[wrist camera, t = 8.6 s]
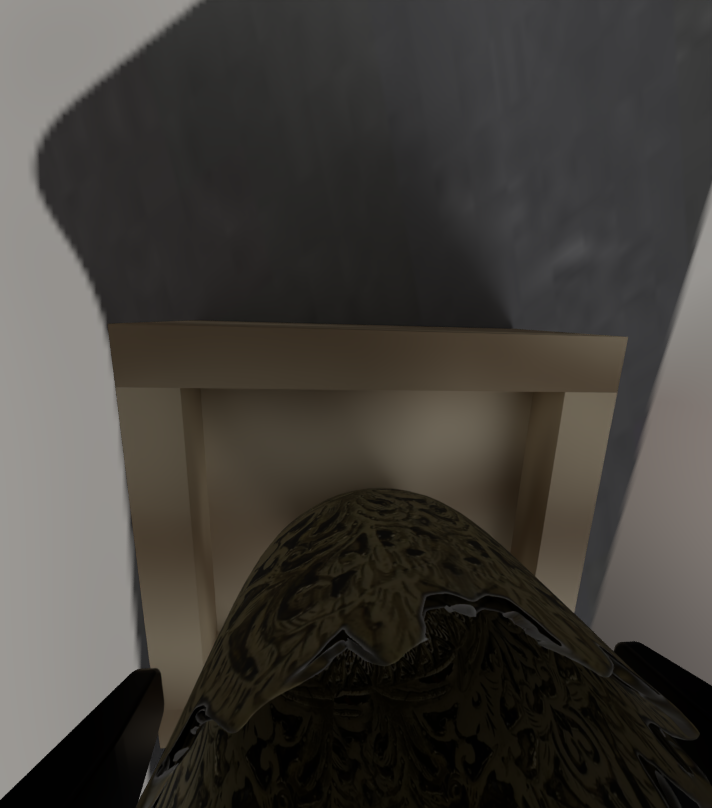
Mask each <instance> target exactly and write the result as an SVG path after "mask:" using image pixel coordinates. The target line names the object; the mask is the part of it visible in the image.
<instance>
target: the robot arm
mask: <svg viewBox="0 0 712 808" xmlns="http://www.w3.org/2000/svg"><path fill="white" fill-rule="evenodd" d="M614 652H615V653H616V654H617V655H618V656H619V657H620V658H621V659H622V660H623V661H624V662H625V663H626V664H627V665H628V666H629V667H630V668H631V669H632V670H633V671H634V672H635V673H637V674H638V675H639V676H640V677H641V678H643V679H644V680H645V681H646V682H647V683H649V684H650V685H651V686H652V687H653V688H654V689H656V690H657V691H658V692H659V693H660V694H662V695H663V696H664V697H665V698H666V699H668V700H669V701H670V702H671V703H672V704H673V705H675V706H676V707H677V708H678V709H679V710H680V711H681V712H682V713H683V714H684V715H685V716H686V717H687V718H688V719H689V720H690V722H691V723H692V724H693V725H694V726H695V727H696V728H697V730H698V731H699V733H700V735H699V737H698V738H697V739H695V740H683V739H679V738H675V737H673V738H674V739H675V740H676V741H677V743H678V744H679V745H680V746H681V747H682V749H683V750H684V751H685V752H686V753H687V754H688V755H689V756H690V758H691V759H692V760H693V761H694V762H695V763H696V765H697V766H698V767H699V768H700V769H701V770H702V772H703V773H704V774H705V775H706V776H707V778H708V780H709V782H710V784H711V786H712V686H711V685H709V684H708V683H706V682H705V681H703V680H701V679H700V678H698V677H696V676H695V675H693V674H691V673H690V672H688V671H686V670H685V669H683V668H681V667H680V666H678V665H677V664H675V663H673V662H671V661H670V660H668V659H667V658H665V657H663V656H662V655H660V654H658V653H657V652H655V651H653V650H652V649H650V648H648V647H647V646H645V645H643V644H642V643H639V642H635V641H634V642H620V643H618V644H617V645H616V646H615V649H614ZM163 713H164V694H163V685H162V677H161V672H160V670H159V669H158V668H146V669H137V670H135V671H134V672H132V673H131V674H130V675H129V676H128V677H127V678H126V679H125V680H124V681H123V682H122V683H121V684H120V685H119V686H117V687H116V688H115V689H114V690H113V691H112V692H111V693H110V694H109V695H108V696H107V697H106V698H105V699H104V700H103V701H102V702H101V703H100V704H99V705H98V706H97V707H96V708H95V709H94V710H93V711H92V712H91V713H90V714H89V715H88V716H86V718H84V719H83V720H82V721H81V722H80V723H79V724H78V725H77V726H76V727H75V728H74V729H73V730H72V731H71V732H70V733H69V734H68V735H67V736H66V737H65V738H64V739H63V740H62V741H61V742H60V743H59V744H58V745H57V746H56V747H55V748H54V749H53V750H51V751H50V752H49V753H48V754H47V755H46V756H45V757H44V758H43V759H42V760H41V761H40V762H39V763H38V764H37V765H36V766H35V767H34V768H33V769H32V770H31V771H30V772H29V773H28V774H27V775H26V776H25V777H24V778H23V779H21V780H20V781H19V783H17V784H16V785H15V786H14V787H13V788H12V789H11V790H10V791H9V792H8V793H7V794H6V795H5V796H4V797H3V798H2V799H1V800H0V808H136V806H137V803H138V800H139V797H140V793H141V790H142V787H143V783H144V779H145V776H146V773H147V769H148V766H149V762H150V759H151V756H152V752H153V749H154V745H155V742H156V738H157V735H158V731H159V728H160V724H161V721H162V717H163ZM664 778H665V779H666V781H667V782H668V784H669V785H670V787H671V788H672V790H673V792H674V793H675V795H676V796H677V798H678V800H679V802H680V804H681V806H682V808H700V807H699V806H698V804H697V803H696V802H694V801H693V800H692V799H691V798H690V797H689V796H687V795H686V794H685V793H684V792H683V791H681V790H680V789H679V788H678V787H676V786H675V785H674V784H673V783H672V782H671V781H670V780H669V779H668V778H667V777H665V776H664Z"/></svg>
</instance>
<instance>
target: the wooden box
mask: <svg viewBox="0 0 712 808" xmlns="http://www.w3.org/2000/svg"><path fill="white" fill-rule="evenodd" d="M108 332H109V340H110V348H111V356H112V364H113V372H114V380H115V388H116V396H117V404H118V412H119V420H120V428H121V436H122V444H123V452H124V461H125V469H126V477H127V485H128V493H129V501H130V509H131V517H132V525H133V533H134V541H135V549H136V557H137V565H138V573H139V581H140V589H141V597H142V605H143V613H144V622H145V630H146V638H147V646H148V654H149V662H150V668H158V669H159V670H160V672H161V677H162V685H163V694H164V713H163V717H162V721H161V724H160V728H159V731H158V734H159V742H160V748H166V746H167V744H168V742H169V740H170V738H171V735H172V733H173V731H174V729H175V727H176V725H177V723H178V720H179V718H180V716H181V714H182V712H183V710H184V707H185V705H186V703H187V701H188V699H189V697H190V695H191V692H192V690H193V688H194V686H195V684H196V682H197V680H198V677H199V675H200V673H201V671H202V669H203V667H204V665H205V662H206V660H207V658H208V656H209V654H210V652H211V650H212V648H213V646H214V643H215V641H216V639H217V637H218V635H219V633H220V631H221V629H222V627H223V625H224V623H225V620H226V618H227V616H228V614H229V612H230V610H231V608H232V606H233V604H234V602H235V600H236V598H237V596H238V594H239V592H240V591H241V589H242V587H243V585H244V583H245V582H246V580H247V578H248V577H249V575H250V573H251V572H252V570H253V568H254V567H255V565H256V563H257V562H258V560H259V559H260V557H261V556H262V554H263V553H264V552H265V550H266V549H267V548H268V547H269V545H270V544H271V543H272V542H273V540H274V539H275V538H276V537H277V535H278V534H279V533H280V532H281V531H282V530H283V529H284V528H285V527H286V526H287V525H288V524H290V523H291V522H292V521H293V520H295V519H296V518H297V517H298V516H300V515H301V514H303V513H304V512H306V511H307V510H309V509H310V508H312V507H313V506H315V505H317V504H319V503H321V502H323V501H325V500H327V499H329V498H332V497H334V496H337V495H340V494H343V493H347V492H351V491H355V490H361V489H368V488H393V489H400V490H406V491H411V492H415V493H418V494H422V495H426V496H428V497H431V498H433V499H436V500H438V501H440V502H442V503H444V504H446V505H448V506H450V507H451V508H453V509H455V510H457V511H458V512H460V513H462V514H463V515H464V516H466V517H467V518H469V519H470V520H471V521H473V522H474V523H476V524H477V525H478V526H479V527H481V528H482V529H483V530H485V531H486V532H487V533H488V534H490V535H491V536H492V537H493V538H494V539H495V540H496V541H498V542H499V543H500V544H501V545H502V546H503V547H504V548H505V549H506V550H507V551H509V552H510V553H511V554H512V555H513V556H514V557H515V558H516V559H517V560H518V561H519V562H520V563H521V564H523V565H524V566H525V567H526V568H527V569H528V570H529V571H530V572H531V573H532V574H533V575H534V576H535V577H536V578H538V579H539V580H540V581H541V582H542V583H543V584H544V585H545V586H546V587H547V588H548V589H549V590H550V591H551V592H552V593H553V594H554V595H556V596H557V597H558V598H559V599H560V600H561V601H562V602H563V603H564V604H565V605H566V606H567V607H568V608H569V609H570V610H571V611H572V612H573V613H574V611H575V606H576V601H577V596H578V591H579V585H580V580H581V575H582V570H583V565H584V560H585V555H586V550H587V545H588V539H589V534H590V529H591V524H592V519H593V514H594V509H595V504H596V498H597V493H598V488H599V483H600V478H601V473H602V468H603V463H604V458H605V452H606V447H607V442H608V437H609V432H610V427H611V422H612V417H613V411H614V406H615V401H616V396H617V391H618V386H619V381H620V376H621V371H622V365H623V360H624V355H625V350H626V345H627V340H628V337H620V336H606V335H592V334H578V333H565V332H551V331H537V330H523V329H500V328H463V327H426V326H388V325H351V324H314V323H277V322H240V321H203V320H189V321H164V322H139V323H114V324H108Z"/></svg>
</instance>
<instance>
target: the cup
mask: <svg viewBox="0 0 712 808" xmlns="http://www.w3.org/2000/svg"><path fill="white" fill-rule="evenodd" d="M699 735H700V733H699V731H698V730H697V728H696V727H695V726H694V725H693V724H692V723H691V722H690V720H689V719H688V718H687V717H686V716H685V715H684V714H683V713H682V712H681V711H680V710H679V709H678V708H677V707H676V706H675V705H673V704H672V703H671V702H670V701H669V700H668V699H666V698H665V697H664V696H663V695H662V694H660V693H659V692H658V691H657V690H656V689H654V688H653V687H652V686H651V685H650V684H649V683H647V682H646V681H645V680H644V679H643V678H641V677H640V676H639V675H638V674H637V673H635V672H634V671H633V670H632V669H631V668H630V667H629V666H628V665H627V664H626V663H625V662H624V661H623V660H622V659H621V658H620V657H619V656H618V655H617V654H616V653H615V652H614V651H613V650H611V649H610V648H609V647H608V646H607V645H606V644H605V643H604V642H603V641H602V640H601V639H600V638H599V637H598V636H597V635H596V634H595V633H594V632H593V631H592V630H591V629H590V628H589V627H588V626H587V625H586V624H585V623H584V622H583V621H582V620H581V619H580V618H578V617H577V616H576V615H575V614H574V613H573V612H572V611H571V610H570V609H569V608H568V607H567V606H566V605H565V604H564V603H563V602H562V601H561V600H560V599H559V598H558V597H557V596H556V595H554V594H553V593H552V592H551V591H550V590H549V589H548V588H547V587H546V586H545V585H544V584H543V583H542V582H541V581H540V580H539V579H538V578H536V577H535V576H534V575H533V574H532V573H531V572H530V571H529V570H528V569H527V568H526V567H525V566H524V565H523V564H521V563H520V562H519V561H518V560H517V559H516V558H515V557H514V556H513V555H512V554H511V553H510V552H509V551H507V550H506V549H505V548H504V547H503V546H502V545H501V544H500V543H499V542H498V541H496V540H495V539H494V538H493V537H492V536H491V535H490V534H488V533H487V532H486V531H485V530H483V529H482V528H481V527H479V526H478V525H477V524H476V523H474V522H473V521H471V520H470V519H469V518H467V517H466V516H464V515H463V514H462V513H460V512H458V511H457V510H455V509H453V508H451V507H450V506H448V505H446V504H444V503H442V502H440V501H438V500H436V499H433V498H431V497H428V496H426V495H422V494H418V493H415V492H411V491H406V490H400V489H393V488H368V489H361V490H355V491H351V492H347V493H343V494H340V495H337V496H334V497H332V498H329V499H327V500H325V501H323V502H321V503H319V504H317V505H315V506H313V507H312V508H310V509H309V510H307V511H306V512H304V513H303V514H301V515H300V516H298V517H297V518H296V519H295V520H293V521H292V522H291V523H290V524H288V525H287V526H286V527H285V528H284V529H283V530H282V531H281V532H280V533H279V534H278V535H277V537H276V538H275V539H274V540H273V542H272V543H271V544H270V545H269V547H268V548H267V549H266V550H265V552H264V553H263V554H262V556H261V557H260V559H259V560H258V562H257V563H256V565H255V567H254V568H253V570H252V572H251V573H250V575H249V577H248V578H247V580H246V582H245V583H244V585H243V587H242V589H241V591H240V592H239V594H238V596H237V598H236V600H235V602H234V604H233V606H232V608H231V610H230V612H229V614H228V616H227V618H226V620H225V623H224V625H223V627H222V629H221V631H220V633H219V635H218V637H217V639H216V641H215V643H214V646H213V648H212V650H211V652H210V654H209V656H208V658H207V660H206V662H205V665H204V667H203V669H202V671H201V673H200V675H199V677H198V680H197V682H196V684H195V686H194V688H193V690H192V692H191V695H190V697H189V699H188V701H187V703H186V705H185V707H184V710H183V712H182V714H181V716H180V718H179V720H178V723H177V725H176V727H175V729H174V731H173V733H172V735H171V738H170V740H169V742H168V744H167V746H166V748H165V750H164V752H163V754H162V756H161V758H160V761H159V763H158V765H157V767H156V769H155V771H154V773H153V775H152V777H151V778H150V780H149V782H148V784H147V786H146V788H145V790H144V792H143V794H142V795H141V797H140V799H139V801H138V803H137V806H136V808H682V806H681V804H680V802H679V800H678V798H677V796H676V795H675V793H674V792H673V790H672V788H671V787H670V785H669V784H668V782H667V781H666V779H665V778H664V776H665V777H667V778H668V779H669V780H670V781H671V782H672V783H673V784H674V785H675V786H676V787H678V788H679V789H680V790H681V791H683V792H684V793H685V794H686V795H687V796H689V797H690V798H691V799H692V800H693V801H694V802H696V803H697V804H698V806H699V807H700V808H712V786H711V784H710V782H709V780H708V778H707V776H706V775H705V774H704V773H703V772H702V770H701V769H700V768H699V767H698V766H697V765H696V763H695V762H694V761H693V760H692V759H691V758H690V756H689V755H688V754H687V753H686V752H685V751H684V750H683V749H682V747H681V746H680V745H679V744H678V743H677V741H676V740H675V739H674V738H673V737H675V738H679V739H683V740H695V739H697V738H698V737H699Z"/></svg>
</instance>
